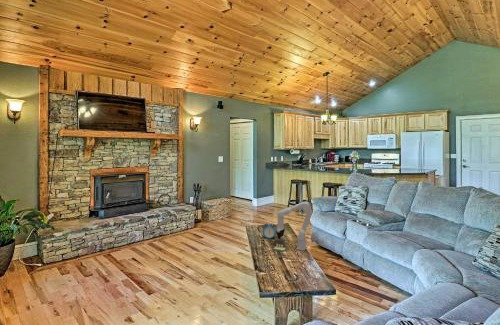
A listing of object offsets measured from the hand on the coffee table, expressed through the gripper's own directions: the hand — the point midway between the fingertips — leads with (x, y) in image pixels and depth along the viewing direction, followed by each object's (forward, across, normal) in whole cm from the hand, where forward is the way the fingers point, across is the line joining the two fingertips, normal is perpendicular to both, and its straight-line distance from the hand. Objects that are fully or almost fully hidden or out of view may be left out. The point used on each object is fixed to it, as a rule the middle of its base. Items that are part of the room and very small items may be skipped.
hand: (280, 237), depth 270 cm
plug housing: (+9, -3, -3) cm, 10 cm away
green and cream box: (+9, +8, +2) cm, 12 cm away
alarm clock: (+9, -21, -19) cm, 30 cm away
